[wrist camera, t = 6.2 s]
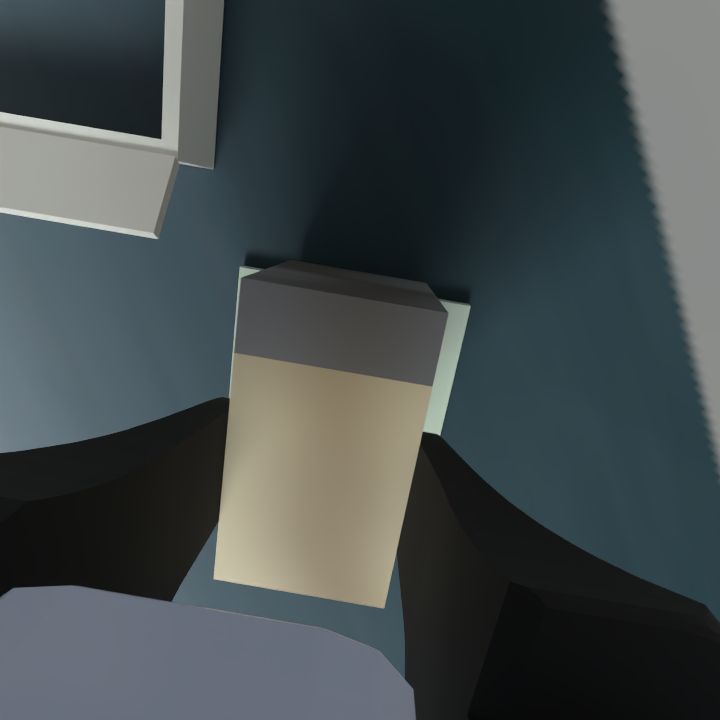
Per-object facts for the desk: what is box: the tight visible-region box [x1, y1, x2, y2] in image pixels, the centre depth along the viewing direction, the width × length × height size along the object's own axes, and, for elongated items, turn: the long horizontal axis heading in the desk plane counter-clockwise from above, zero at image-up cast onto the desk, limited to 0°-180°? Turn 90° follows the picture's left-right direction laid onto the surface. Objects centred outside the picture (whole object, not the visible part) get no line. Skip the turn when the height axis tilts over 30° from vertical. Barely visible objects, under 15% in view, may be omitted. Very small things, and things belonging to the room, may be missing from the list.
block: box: [214, 260, 449, 608], centre depth 12 cm, size 4×7×5 cm, turn 171°
